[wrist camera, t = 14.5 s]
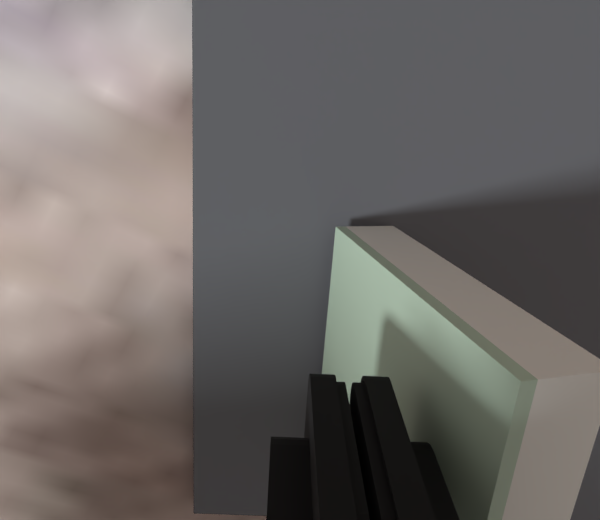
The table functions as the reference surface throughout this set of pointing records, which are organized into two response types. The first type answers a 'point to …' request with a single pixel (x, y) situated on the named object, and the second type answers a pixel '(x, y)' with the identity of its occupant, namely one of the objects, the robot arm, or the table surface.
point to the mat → (377, 188)
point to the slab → (465, 375)
